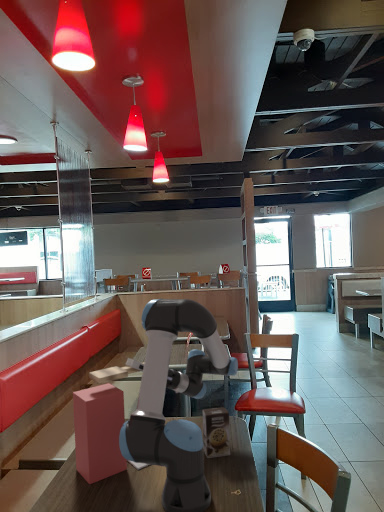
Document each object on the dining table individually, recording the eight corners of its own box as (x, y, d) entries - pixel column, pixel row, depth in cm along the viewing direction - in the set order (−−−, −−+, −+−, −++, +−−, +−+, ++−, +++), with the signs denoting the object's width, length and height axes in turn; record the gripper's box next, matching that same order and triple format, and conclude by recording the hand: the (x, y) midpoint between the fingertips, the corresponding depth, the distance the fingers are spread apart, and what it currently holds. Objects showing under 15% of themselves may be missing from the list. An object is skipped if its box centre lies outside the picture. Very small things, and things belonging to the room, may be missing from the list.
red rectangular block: (112, 456, 152) (108, 383, 151) (126, 469, 142) (123, 391, 142) (76, 469, 143) (72, 392, 143) (89, 484, 134) (85, 401, 133)
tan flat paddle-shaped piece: (143, 364, 159) (143, 359, 159) (155, 369, 152) (155, 364, 152) (89, 378, 145) (88, 372, 145) (99, 383, 138) (99, 378, 138)
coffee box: (207, 458, 147) (205, 415, 147) (203, 450, 153) (201, 408, 153) (231, 455, 149) (229, 412, 149) (226, 447, 155) (224, 406, 155)
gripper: (183, 394, 155) (136, 376, 143) (160, 384, 168) (115, 367, 156) (190, 376, 158) (144, 356, 145) (167, 367, 170) (123, 349, 158)
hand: (129, 362), depth 150 cm, fingers closed on tan flat paddle-shaped piece, 3 cm apart
